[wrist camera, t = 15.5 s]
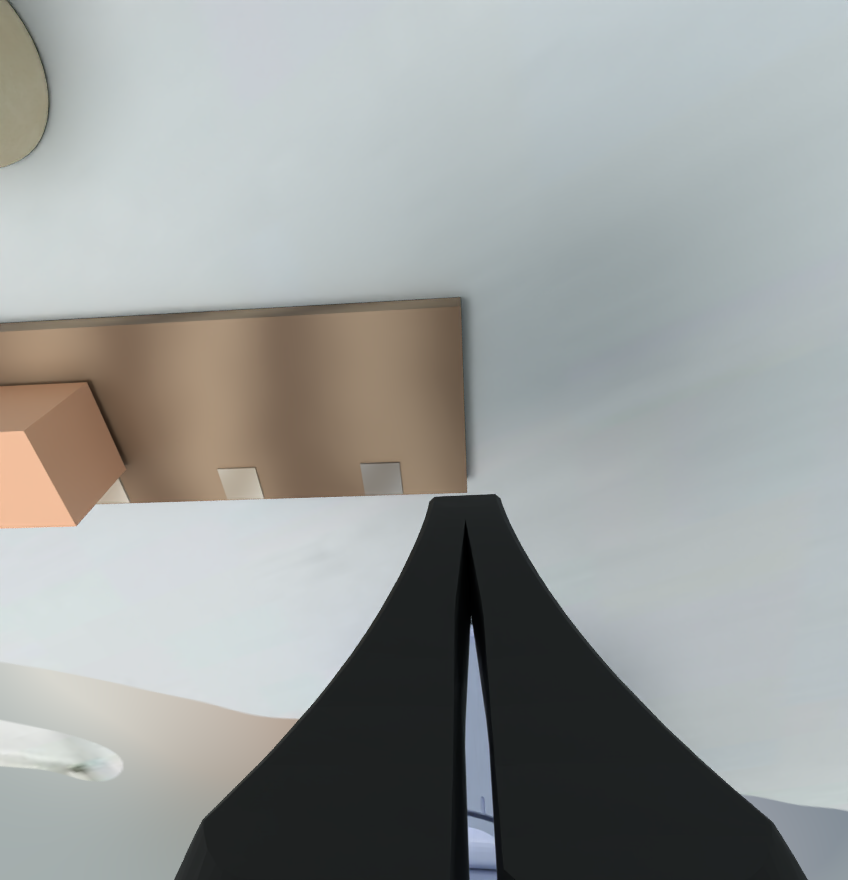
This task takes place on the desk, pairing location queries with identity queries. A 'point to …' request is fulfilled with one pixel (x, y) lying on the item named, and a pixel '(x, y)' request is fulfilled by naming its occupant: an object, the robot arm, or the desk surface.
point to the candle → (19, 89)
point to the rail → (265, 397)
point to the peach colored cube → (53, 455)
